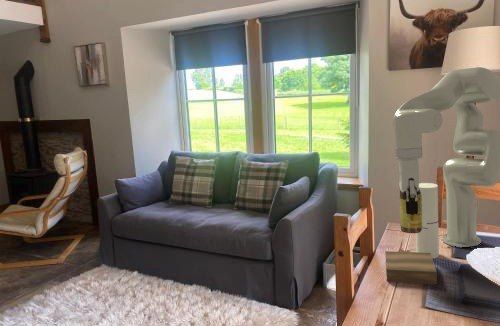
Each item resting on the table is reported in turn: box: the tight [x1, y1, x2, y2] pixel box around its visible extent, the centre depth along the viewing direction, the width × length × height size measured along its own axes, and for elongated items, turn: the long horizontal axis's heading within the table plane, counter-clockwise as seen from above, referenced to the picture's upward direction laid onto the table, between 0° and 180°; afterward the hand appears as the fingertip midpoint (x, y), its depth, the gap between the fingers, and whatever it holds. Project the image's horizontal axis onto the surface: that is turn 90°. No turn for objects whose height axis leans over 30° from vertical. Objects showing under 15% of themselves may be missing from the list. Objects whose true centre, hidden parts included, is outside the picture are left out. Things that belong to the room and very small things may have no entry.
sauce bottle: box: [399, 189, 422, 234], centre depth 115 cm, size 7×6×20 cm
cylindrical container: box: [415, 182, 440, 259], centre depth 129 cm, size 7×7×25 cm
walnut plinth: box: [384, 250, 438, 285], centre depth 119 cm, size 14×14×4 cm
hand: (410, 209), depth 115 cm, fingers closed on sauce bottle, 6 cm apart
